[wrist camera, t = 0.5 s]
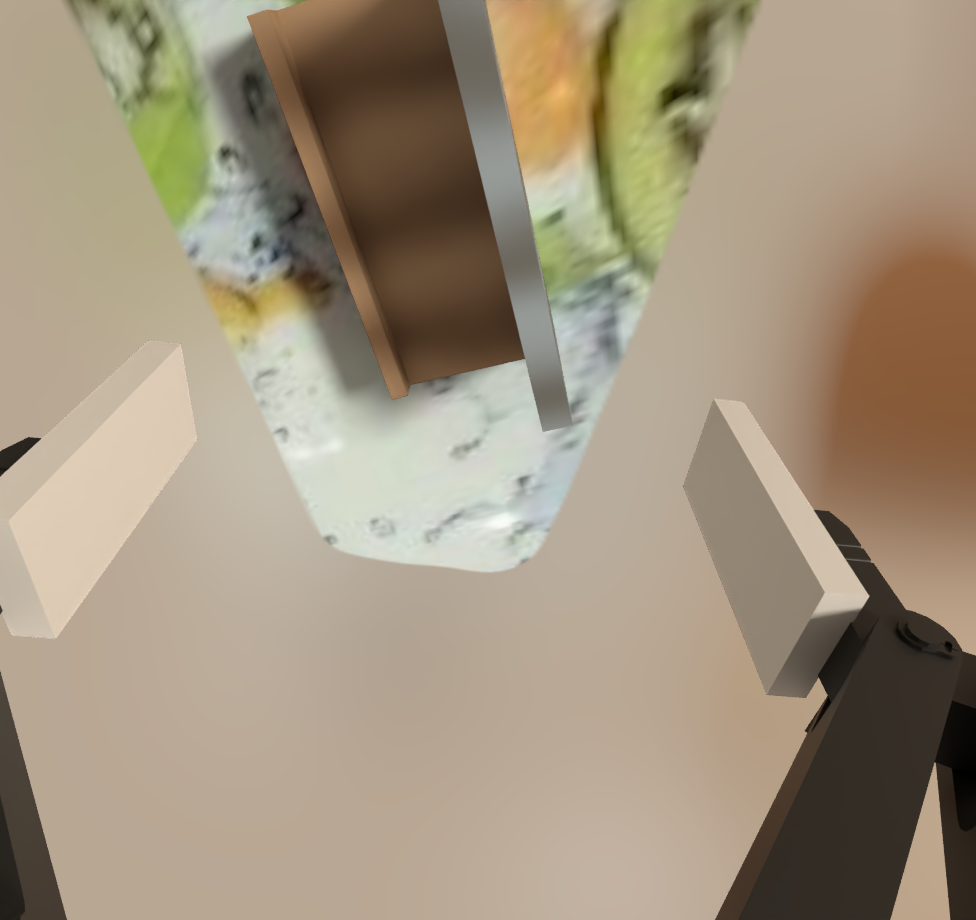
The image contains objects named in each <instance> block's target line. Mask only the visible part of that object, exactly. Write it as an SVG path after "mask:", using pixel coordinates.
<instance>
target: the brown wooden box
mask: <svg viewBox="0 0 976 920" xmlns="http://www.w3.org/2000/svg"><path fill="white" fill-rule="evenodd" d="M247 18H248V21H249V23H250V26H251V29H252V31H253V34H254V36H255V39H256V42H257V44H258V47H259V50H260V52H261V55H262V58H263V60H264V63H265V65H266V68H267V71H268V73H269V76H270V79H271V81H272V84H273V87H274V89H275V92H276V95H277V97H278V100H279V102H280V105H281V108H282V110H283V113H284V116H285V118H286V121H287V124H288V126H289V129H290V131H291V134H292V137H293V139H294V142H295V145H296V147H297V150H298V153H299V155H300V158H301V160H302V163H303V166H304V168H305V171H306V174H307V176H308V179H309V182H310V184H311V187H312V189H313V192H314V195H315V197H316V200H317V203H318V205H319V208H320V211H321V213H322V216H323V219H324V221H325V224H326V226H327V229H328V232H329V234H330V237H331V240H332V242H333V245H334V248H335V250H336V253H337V255H338V258H339V261H340V263H341V266H342V269H343V271H344V274H345V277H346V279H347V282H348V284H349V287H350V290H351V292H352V295H353V298H354V300H355V303H356V306H357V308H358V311H359V314H360V316H361V319H362V321H363V324H364V327H365V329H366V332H367V335H368V337H369V340H370V343H371V345H372V348H373V350H374V353H375V356H376V358H377V361H378V364H379V366H380V369H381V372H382V374H383V377H384V379H385V382H386V385H387V387H388V390H389V393H390V395H391V398H392V399H396V398H401V397H405V396H408V392H409V388H410V385H412V384H416V383H421V382H425V381H429V380H434V379H438V378H443V377H447V376H451V375H456V374H460V373H465V372H469V371H473V370H478V369H482V368H486V367H491V366H495V365H500V364H504V363H508V362H513V361H517V360H522V359H525V360H526V364H527V368H528V373H529V377H530V381H531V385H532V389H533V393H534V397H535V401H536V405H537V410H538V414H539V418H540V422H541V426H542V430H543V432H544V431H549V430H554V429H558V428H563V427H568V426H573V424H572V419H571V413H570V408H569V403H568V398H567V392H566V387H565V382H564V376H563V371H562V366H561V361H560V355H559V350H558V345H557V340H556V334H555V329H554V325H553V320H552V315H551V310H550V306H549V301H548V296H547V291H546V287H545V282H544V277H543V272H542V268H541V263H540V258H539V253H538V249H537V244H536V239H535V234H534V230H533V225H532V220H531V215H530V211H529V206H528V201H527V196H526V192H525V187H524V182H523V177H522V173H521V168H520V163H519V158H518V154H517V149H516V144H515V139H514V135H513V130H512V125H511V120H510V116H509V111H508V106H507V101H506V97H505V92H504V87H503V82H502V78H501V73H500V68H499V63H498V59H497V54H496V49H495V44H494V40H493V35H492V30H491V25H490V21H489V16H488V11H487V6H486V2H485V0H308V1H305V2H302V3H299V4H296V5H293V6H290V7H287V8H284V9H281V10H278V11H274V10H265V11H262V12H259V13H256V14H253V15H250V16H247Z"/></svg>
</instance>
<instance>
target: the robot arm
mask: <svg viewBox="0 0 976 920" xmlns="http://www.w3.org/2000/svg"><path fill="white" fill-rule="evenodd" d="M196 441H197V435H196V430H195V423H194V418H193V412H192V407H191V400H190V394H189V389H188V383H187V377H186V371H185V366H184V359H183V354H182V348H181V344H178V343H168V342H159V341H147V342H146V343H145V344H144V345H143V346H142V347H141V348H140V349H138V350H137V351H136V352H135V353H134V354H133V355H132V356H131V357H130V358H129V359H128V360H127V361H125V362H124V363H123V364H122V365H121V366H120V367H119V368H118V369H117V370H116V371H115V372H113V374H111V375H110V376H109V377H108V378H107V379H106V380H105V381H104V382H103V383H102V384H101V385H99V386H98V387H97V388H96V389H95V390H94V391H93V392H92V393H91V394H90V395H89V396H87V397H86V398H85V399H84V400H83V401H82V402H81V403H80V404H79V405H78V406H77V407H76V408H74V409H73V410H72V411H71V412H70V413H69V414H68V415H67V416H66V417H65V418H64V419H63V420H61V421H60V422H59V423H58V424H57V425H56V426H55V427H54V428H53V429H52V430H50V431H49V432H48V433H47V434H46V435H45V436H44V437H43V438H30V437H28V438H26V439H24V440H22V441H20V442H18V443H16V444H14V445H12V446H10V447H7V448H5V449H3V450H2V451H0V614H1V613H2V615H3V618H4V620H5V622H6V624H7V626H8V628H9V631H10V633H11V635H12V636H25V637H37V638H50V639H56V638H57V636H58V635H59V633H60V632H61V631H62V629H63V628H64V627H65V625H66V624H67V622H68V621H69V620H70V618H71V617H72V615H73V614H74V613H75V611H76V610H77V608H78V607H79V606H80V604H81V603H82V601H83V600H84V599H85V597H86V596H87V594H88V593H89V592H90V590H91V589H92V587H93V586H94V585H95V583H96V582H97V580H98V579H99V577H100V576H101V575H102V573H103V572H104V570H105V569H106V568H107V566H108V565H109V563H110V562H111V561H112V559H113V558H114V556H115V555H116V554H117V552H118V551H119V549H120V548H121V546H122V545H123V544H124V542H125V541H126V540H127V538H128V537H129V535H130V534H131V532H132V531H133V530H134V528H135V527H136V525H137V524H138V522H139V521H140V520H141V518H142V517H143V516H144V514H145V513H146V511H147V510H148V509H149V507H150V506H151V504H152V503H153V502H154V500H155V499H156V497H157V496H158V495H159V493H160V492H161V490H162V489H163V488H164V486H165V484H166V483H167V482H168V480H169V479H170V478H171V476H172V475H173V473H174V472H175V471H176V469H177V468H178V466H179V465H180V464H181V462H182V461H183V459H184V458H185V457H186V455H187V454H188V452H189V451H190V449H191V448H192V447H193V445H194V444H195V443H196ZM683 487H684V490H685V492H686V495H687V497H688V500H689V502H690V505H691V507H692V510H693V512H694V514H695V517H696V520H697V522H698V525H699V527H700V530H701V532H702V535H703V537H704V539H705V542H706V545H707V547H708V550H709V552H710V554H711V557H712V560H713V562H714V564H715V567H716V570H717V572H718V574H719V577H720V579H721V582H722V585H723V587H724V590H725V592H726V594H727V597H728V599H729V602H730V604H731V607H732V609H733V612H734V614H735V617H736V619H737V622H738V624H739V627H740V629H741V632H742V634H743V637H744V639H745V641H746V644H747V647H748V649H749V652H750V654H751V657H752V659H753V662H754V664H755V666H756V669H757V672H758V674H759V677H760V679H761V681H762V684H763V686H764V689H765V692H766V694H767V695H775V696H787V697H800V698H801V697H802V698H806V697H807V695H808V694H809V692H810V690H811V689H812V687H813V686H814V684H815V682H816V681H817V679H818V678H819V679H820V681H821V683H822V685H823V687H824V689H825V691H826V693H827V694H828V696H827V698H826V699H825V701H824V702H823V704H822V705H821V707H820V709H819V710H818V712H817V713H816V715H815V716H814V718H813V719H812V721H811V722H810V724H809V725H808V727H807V728H806V730H805V731H806V732H807V735H806V737H805V739H804V741H803V743H802V745H801V747H800V749H799V751H798V753H797V755H796V758H795V760H794V762H793V764H792V766H791V768H790V770H789V772H788V774H787V776H786V778H785V780H784V782H783V784H782V786H781V788H780V790H779V792H778V794H777V796H776V798H775V800H774V802H773V804H772V806H771V808H770V810H769V812H768V814H767V816H766V818H765V820H764V822H763V824H762V826H761V828H760V830H759V832H758V834H757V836H756V838H755V840H754V842H753V844H752V846H751V848H750V850H749V852H748V854H747V857H746V858H745V860H744V863H743V864H742V867H741V869H740V871H739V873H738V875H737V877H736V879H735V881H734V883H733V885H732V887H731V889H730V891H729V893H728V895H727V897H726V899H725V901H724V903H723V905H722V907H721V909H720V911H719V913H718V915H717V917H716V919H715V920H890V918H891V915H892V911H893V908H894V904H895V901H896V897H897V894H898V890H899V886H900V883H901V879H902V876H903V872H904V869H905V865H906V862H907V858H908V855H909V851H910V847H911V844H912V840H913V837H914V833H915V830H916V826H917V823H918V819H919V815H920V812H921V808H922V805H923V801H924V798H925V794H926V791H927V787H928V783H929V780H930V776H931V772H932V769H933V766H934V762H935V763H936V769H937V780H938V791H939V801H940V812H941V823H942V834H943V844H944V855H945V866H946V877H947V887H948V898H949V908H950V919H951V920H976V656H975V655H972V654H969V653H966V652H963V651H962V649H961V647H960V646H959V644H958V643H957V641H956V639H955V638H954V637H953V636H952V635H951V634H950V633H949V632H948V631H947V630H946V629H945V628H944V627H942V626H941V625H939V624H938V623H936V622H934V621H933V620H931V619H930V618H928V617H926V616H923V615H921V614H918V613H916V612H913V611H909V610H906V609H905V608H904V606H903V605H902V603H901V602H900V601H899V599H898V598H897V596H896V595H895V594H894V592H893V590H892V589H891V588H890V586H889V585H888V583H887V582H886V581H885V579H884V578H883V576H882V575H881V573H880V572H879V571H878V569H877V567H876V566H875V565H874V563H871V559H870V557H869V556H868V554H867V553H866V552H865V550H864V549H861V544H860V543H859V542H858V540H857V539H856V537H855V536H854V534H853V533H852V532H851V530H850V529H849V528H848V527H847V526H846V525H845V524H844V523H843V522H841V521H840V520H839V519H837V518H836V517H835V516H834V515H833V514H832V513H830V512H829V511H820V510H813V509H812V507H811V505H810V504H809V503H808V501H807V499H806V498H805V496H804V495H803V493H802V492H801V490H800V488H799V487H798V485H797V484H796V482H795V481H794V479H793V478H792V476H791V475H790V473H789V471H788V470H787V468H786V467H785V465H784V464H783V462H782V461H781V459H780V458H779V456H778V454H777V453H776V451H775V450H774V448H773V447H772V445H771V444H770V442H769V441H768V439H767V438H766V436H765V435H764V433H763V431H762V430H761V428H760V427H759V425H758V424H757V422H756V420H755V419H754V417H753V416H752V414H751V413H750V411H749V410H748V408H747V407H746V405H745V404H744V402H740V401H731V400H721V399H713V402H712V405H711V408H710V411H709V414H708V416H707V420H706V422H705V425H704V428H703V431H702V434H701V437H700V440H699V443H698V445H697V448H696V451H695V454H694V457H693V460H692V463H691V465H690V468H689V471H688V474H687V477H686V480H685V482H684V485H683ZM0 920H67V919H66V915H65V911H64V908H63V904H62V900H61V897H60V893H59V889H58V885H57V882H56V877H55V874H54V870H53V866H52V863H51V860H50V855H49V851H48V848H47V844H46V840H45V837H44V833H43V829H42V825H41V821H40V818H39V814H38V810H37V807H36V803H35V799H34V795H33V792H32V788H31V784H30V780H29V777H28V773H27V769H26V765H25V762H24V758H23V754H22V751H21V747H20V743H19V739H18V736H17V732H16V728H15V725H14V721H13V717H12V713H11V709H10V706H9V702H8V698H7V695H6V691H5V687H4V684H3V680H2V676H1V672H0Z"/></svg>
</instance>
